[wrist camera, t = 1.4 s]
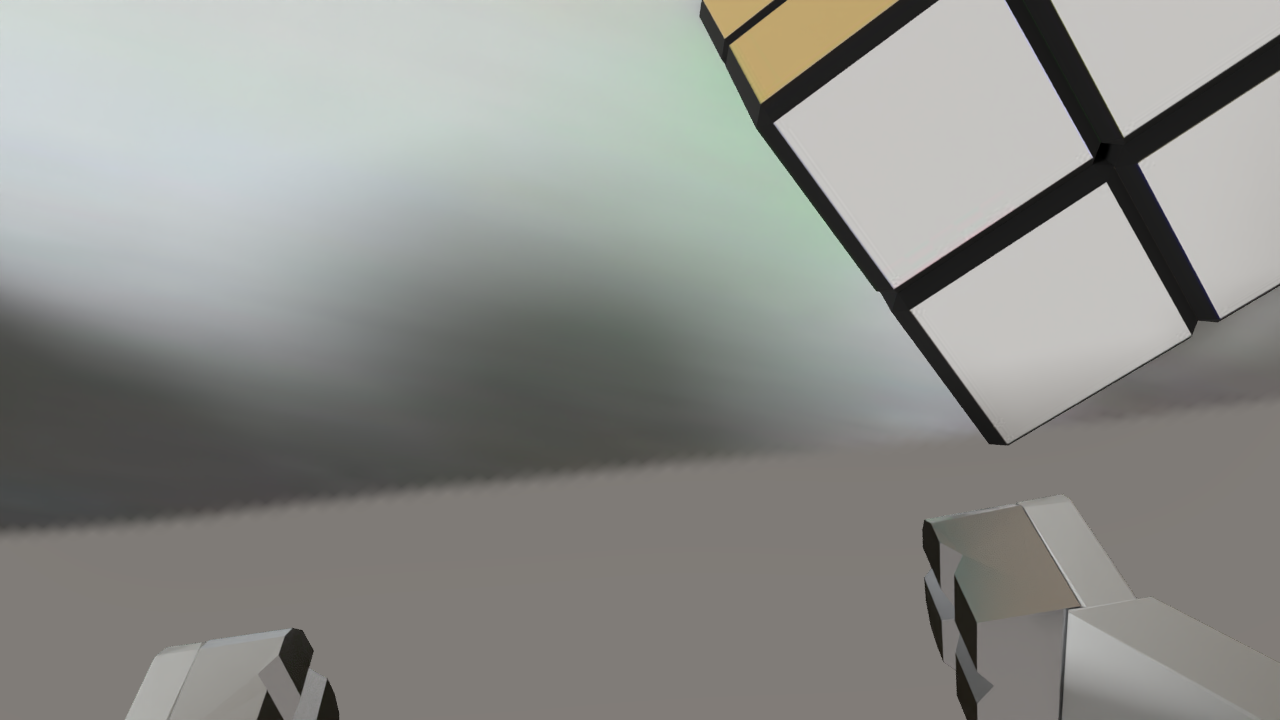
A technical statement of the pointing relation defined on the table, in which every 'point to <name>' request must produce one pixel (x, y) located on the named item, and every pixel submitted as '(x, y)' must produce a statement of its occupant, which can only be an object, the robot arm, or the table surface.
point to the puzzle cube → (1028, 173)
